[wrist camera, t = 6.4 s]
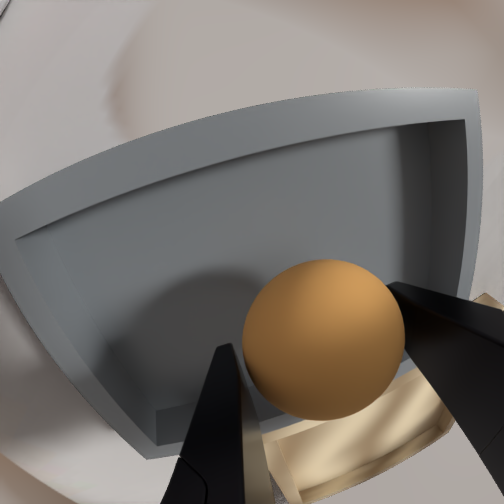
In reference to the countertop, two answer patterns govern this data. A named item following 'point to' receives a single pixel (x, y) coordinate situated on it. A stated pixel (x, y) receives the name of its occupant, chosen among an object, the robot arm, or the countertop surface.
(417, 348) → the robot arm
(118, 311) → the tray
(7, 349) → the countertop surface
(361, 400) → the ball
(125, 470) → the countertop surface
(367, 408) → the dish
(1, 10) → the pill bottle
